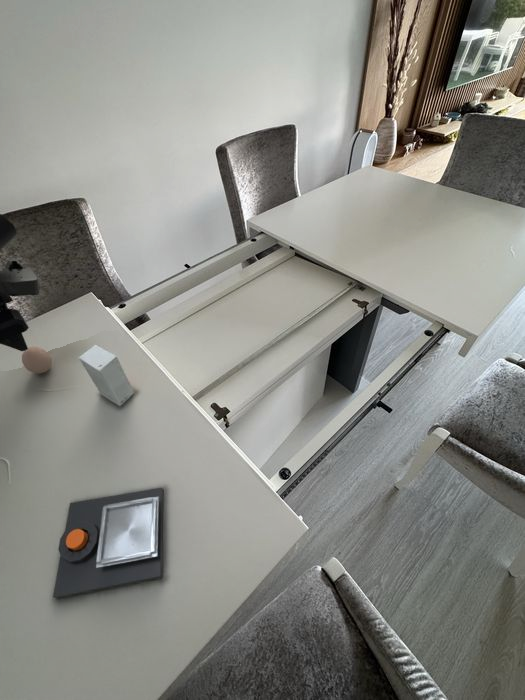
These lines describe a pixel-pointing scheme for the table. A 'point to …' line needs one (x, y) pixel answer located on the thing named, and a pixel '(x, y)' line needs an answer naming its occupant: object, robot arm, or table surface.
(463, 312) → the table surface
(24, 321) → the robot arm
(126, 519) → the brushed steel platform
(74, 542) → the button
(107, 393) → the cosmetic box
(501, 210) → the table surface
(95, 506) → the scale
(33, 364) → the egg
